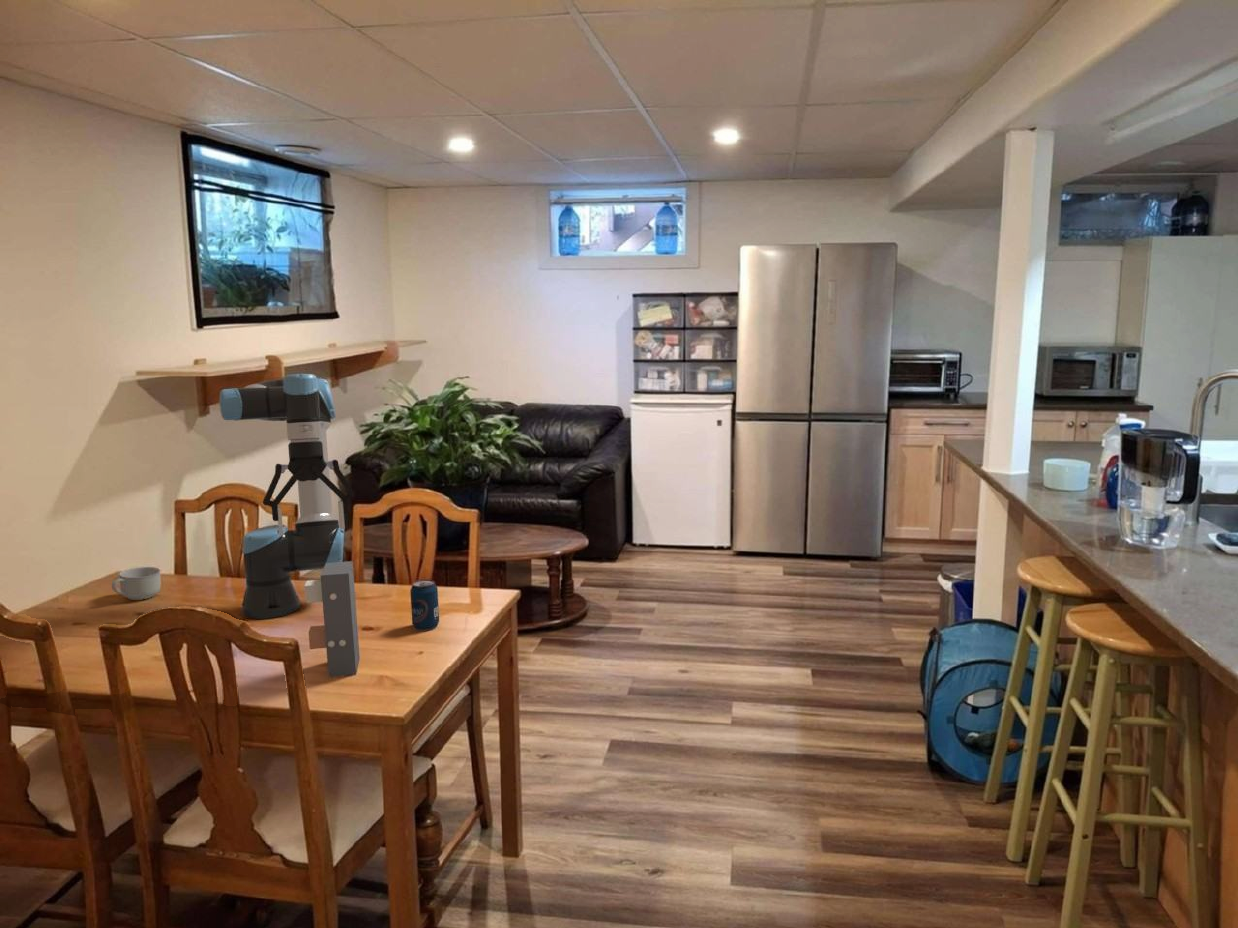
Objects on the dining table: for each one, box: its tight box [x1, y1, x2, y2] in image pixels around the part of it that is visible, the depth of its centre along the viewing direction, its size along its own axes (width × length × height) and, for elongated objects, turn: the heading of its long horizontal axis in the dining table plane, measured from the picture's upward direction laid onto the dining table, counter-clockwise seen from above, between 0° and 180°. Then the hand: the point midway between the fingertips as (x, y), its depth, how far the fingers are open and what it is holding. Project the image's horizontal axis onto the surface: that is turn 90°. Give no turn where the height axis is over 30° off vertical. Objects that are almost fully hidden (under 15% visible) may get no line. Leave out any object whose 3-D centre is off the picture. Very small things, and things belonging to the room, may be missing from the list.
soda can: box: [409, 579, 440, 632], centre depth 229 cm, size 7×7×12 cm
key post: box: [320, 560, 360, 678], centre depth 202 cm, size 6×10×24 cm, turn 12°
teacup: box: [111, 566, 162, 601], centre depth 257 cm, size 14×11×8 cm
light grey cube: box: [304, 579, 323, 604], centre depth 200 cm, size 4×4×4 cm
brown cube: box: [307, 624, 326, 650], centre depth 202 cm, size 4×4×4 cm
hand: (312, 532), depth 205 cm, fingers open, 13 cm apart
